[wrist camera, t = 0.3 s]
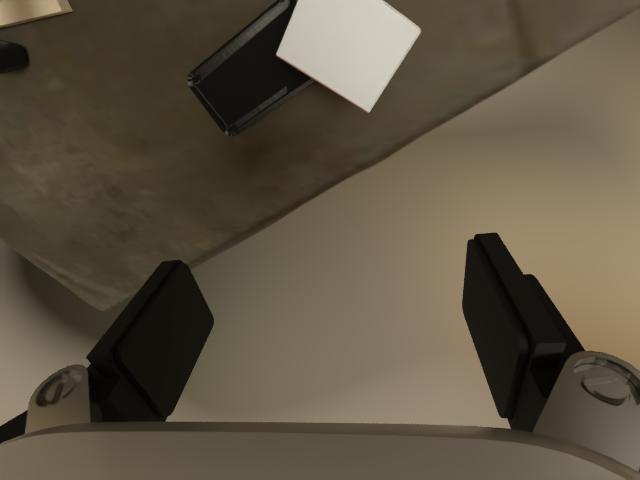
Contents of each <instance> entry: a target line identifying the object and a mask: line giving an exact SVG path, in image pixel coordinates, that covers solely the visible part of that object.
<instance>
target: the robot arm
mask: <svg viewBox="0 0 640 480" xmlns="http://www.w3.org/2000/svg"><path fill="white" fill-rule="evenodd" d="M462 308H463V313H464V316H465V320H466V322H467V325H468V328H469V331H470V334H471V337H472V339H473V342H474V345H475V348H476V351H477V354H478V357H479V359H480V362H481V365H482V367H483V371H484V373H485V376H486V379H487V382H488V385H489V388H490V391H491V394H492V397H493V399H494V402H495V405H496V408H497V411H498V413H499V415H500V417H501V418H507V419H508V422H509V424H510V427H511V429H505V428H492V427H478V426H455V425H423V424H420V425H419V424H368V423H367V424H365V423H289V422H287V423H286V422H285V423H284V422H279V423H278V422H165V421H166V419H167V417H168V416H169V415H171V414H172V412H173V411H174V408H175V407H176V404H177V402H178V400H179V398H180V396H181V394H182V392H183V389H184V387H185V385H186V383H187V381H188V379H189V376H190V374H191V372H192V370H193V368H194V365H195V364H196V362H197V359H198V357H199V355H200V353H201V351H202V349H203V347H204V344H205V342H206V340H207V338H208V336H209V334H210V332H211V329H212V327H213V324H214V318H213V315H212V313H211V311H210V309H209V307H208V305H207V303H206V301H205V299H204V297H203V295H202V293H201V291H200V289H199V287H198V285H197V283H196V281H195V279H194V277H193V275H192V273H191V271H190V269H189V267H188V265H187V264H184V263H183V262H182V261H181V260H172V261H164V262H162V263H161V264H160V265H159V266H158V267H157V269H156V270H155V271H154V272H153V274H152V275H151V276H150V277H149V279H148V280H147V281H146V283H145V284H144V285H143V286H142V288H141V289H140V290H139V291H138V293H137V294H136V295H135V296H134V298H133V299H132V300H131V301H130V303H129V304H128V305H127V306H126V308H125V309H124V310H123V311H122V313H121V314H120V315H119V316H118V318H117V319H116V320H115V321H114V323H113V324H112V325H111V326H110V328H109V329H108V330H107V332H106V333H105V334H104V335H103V337H102V338H101V339H100V340H99V342H98V343H97V344H96V345H95V347H94V348H93V349H92V351H91V352H90V353H89V354H88V355H87V357H86V358H87V359H88V360H89V362H90V363H91V364H90V365H89V367H88V368H86V367H85V366H83V365H71V366H67V367H66V368H63V369H60V370H59V371H57V372H56V373H54V374H52V375H51V376H49V377H48V378H47V379H46V380H44V381H43V382H42V383H41V384H40V385H39V387H38V388H37V389H36V390H35V391H34V393H33V395H32V396H31V398H30V401H29V406H28V410H27V411H25V412H24V413H22V414H20V415H18V416H17V417H15V418H13V419H12V420H10V421H8V422H7V423H5V424H3V425H2V426H0V480H640V371H639V370H638V369H636V368H635V367H634V366H632V365H631V364H629V363H627V362H625V361H624V360H622V359H619V358H617V357H615V356H612V355H609V354H606V353H603V352H595V351H585V350H584V348H583V347H582V345H581V344H580V342H579V341H578V339H577V338H576V336H575V335H574V333H573V332H572V330H571V329H570V327H569V326H568V324H567V323H566V321H565V320H564V318H563V317H562V315H561V314H560V312H559V311H558V309H557V308H556V307H555V305H554V304H553V302H552V301H551V299H550V298H549V296H548V295H547V293H546V292H545V290H544V289H543V287H542V286H541V284H540V283H539V281H538V280H537V279H536V278H535V277H534V276H533V275H531V274H526V275H523V273H522V272H521V270H520V268H519V267H518V265H517V264H516V262H515V260H514V259H513V257H512V256H511V254H510V253H509V251H508V249H507V248H506V246H505V245H504V244H503V241H502V240H501V238H500V237H499V235H498V234H497V233H486V234H476V235H475V236H474V239H471V240H468V243H467V254H466V266H465V278H464V289H463V301H462Z"/></svg>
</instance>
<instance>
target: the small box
mask: <svg viewBox="0 0 640 480" xmlns="http://www.w3.org/2000/svg"><path fill="white" fill-rule="evenodd" d="M420 33H421V29H420V28H419V27H418V26H417V25H416V24H414V23H413V22H412V21H410V20H409V19H408V18H406V17H405V16H404V15H402V14H401V13H400V12H398V11H397V10H396V9H394V8H393V7H392V6H390V5H389V4H387V3H386V2H385V1H383V0H298V1H297V4H296V6H295V9H294V11H293V14H292V16H291V19H290V21H289V24H288V26H287V29H286V31H285V34H284V36H283V39H282V41H281V44H280V46H279V48H278V51H277V53H276V56H277V57H279V58H280V59H282V60H284V61H285V62H287V63H288V64H290V65H292V66H293V67H295V68H296V69H298V70H300V71H301V72H303V73H304V74H306V75H308V76H309V77H311V78H312V79H314V80H316V81H317V82H319V83H321V84H322V85H324V86H325V87H327V88H329V89H330V90H332V91H333V92H335V93H337V94H338V95H340V96H342V97H343V98H345V99H346V100H348V101H350V102H351V103H353V104H354V105H356V106H358V107H359V108H361V109H363V110H364V111H366V112H367V113H369V112H370V111H371V109H372V108H373V106H374V104H375V103H376V101H377V100H378V98H379V97H380V95H381V94H382V92H383V90H384V89H385V87H386V86H387V84H388V83H389V81H390V79H391V78H392V76H393V75H394V73H395V72H396V70H397V69H398V67H399V65H400V64H401V62H402V61H403V59H404V58H405V56H406V55H407V53H408V52H409V50H410V48H411V47H412V45H413V44H414V42H415V41H416V39H417V38H418V36H419V34H420Z"/></svg>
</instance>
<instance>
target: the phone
mask: <svg viewBox="0 0 640 480" xmlns="http://www.w3.org/2000/svg"><path fill="white" fill-rule="evenodd" d="M297 1H298V0H277V1H276V2H275V3H274V4H272V5H271V6H270V7H269V8H268V9H266V10H265V11H264V12H263V13H262V14H260V15H259V16H258V17H257V18H256V19H254V20H253V21H252V22H251V23H250V24H248V25H247V26H246V27H245V28H243V29H242V30H241V31H240V32H239V33H237V34H236V35H235V36H234V37H233V38H231V39H230V40H229V41H228V42H227V43H225V44H224V45H223V46H222V47H221V48H219V49H218V50H217V51H216V52H215V53H213V54H212V55H211V56H210V57H209V58H207V59H206V60H205V61H204V62H202V63H201V64H200V65H199V66H198V67H196V68H195V69H194V70H193V71H192V72H190V74H189V75H188V78H187V82H188V85H189V87H190V89H191V90H192V91H193V93H194V94H195V95H196V97H197V98H198V99H199V101H200V102H201V103H202V105H203V106H204V107H205V109H206V110H207V111H208V113H209V114H210V115H211V117H212V118H213V119H214V121H215V122H216V123H217V125H218V126H219V127H220V129H221V130H222V131H223V132H224V133H225V134H226V135H228V136H234V135H237V134H238V133H240V132H241V131H242V130H245V129H246V128H247V127H248V126H251V125H252V124H254V123H255V122H257V120H260V119H262V118H263V117H264V115H266V114H267V113H269V112H270V111H272V110H273V109H275V108H276V107H278V106H279V105H281V104H282V103H284V102H285V101H287V100H288V99H289V98H291V97H292V96H294V95H295V94H297V93H298V92H300V91H301V90H303V89H304V88H306V87H307V86H309V85H310V84H312V83H313V82H314V81H316V80H314V79H312V78H311V77H309V76H308V75H306V74H304V73H303V72H301V71H300V70H298V69H296V68H295V67H293V66H292V65H290V64H288V63H287V62H285V61H284V60H282V59H280V58H279V57H277V56H276V53H277V51H278V48H279V46H280V44H281V41H282V39H283V36H284V34H285V31H286V29H287V26H288V24H289V21H290V19H291V16H292V14H293V11H294V9H295V6H296V4H297Z"/></svg>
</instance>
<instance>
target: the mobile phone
mask: <svg viewBox="0 0 640 480" xmlns="http://www.w3.org/2000/svg"><path fill="white" fill-rule="evenodd" d="M25 65H26V56H25V52H24V50H23V48H22V47H20V46H19V45H17V44H13V43H8V42H3V41H0V73H6V72H10V71H14V70H18V69H21V68H23V67H24V66H25Z"/></svg>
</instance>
